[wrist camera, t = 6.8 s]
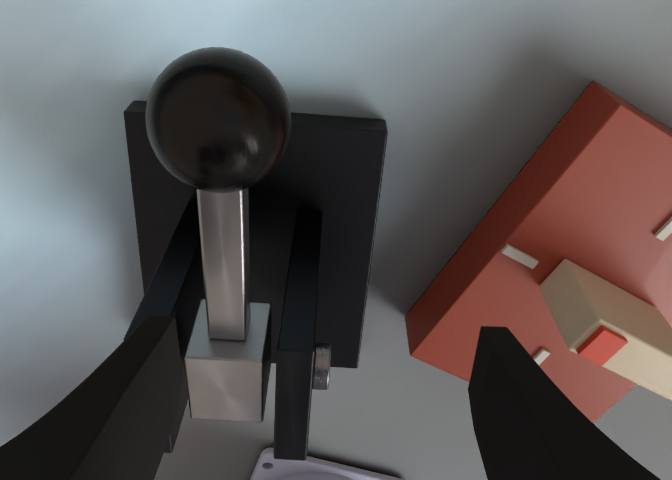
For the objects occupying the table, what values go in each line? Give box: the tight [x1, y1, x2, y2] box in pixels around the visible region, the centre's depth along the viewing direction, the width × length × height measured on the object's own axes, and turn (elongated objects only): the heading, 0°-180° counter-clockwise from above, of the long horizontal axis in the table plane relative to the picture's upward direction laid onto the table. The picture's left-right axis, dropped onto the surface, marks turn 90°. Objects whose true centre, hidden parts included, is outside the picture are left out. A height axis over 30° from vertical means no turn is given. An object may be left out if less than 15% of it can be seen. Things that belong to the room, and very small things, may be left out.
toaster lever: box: [145, 47, 291, 423], centre depth 16 cm, size 11×3×3 cm, turn 176°
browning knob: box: [539, 259, 672, 400], centre depth 21 cm, size 5×2×4 cm, turn 60°
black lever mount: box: [124, 101, 388, 461], centre depth 21 cm, size 11×9×9 cm
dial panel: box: [405, 81, 672, 423], centre depth 24 cm, size 12×9×3 cm
